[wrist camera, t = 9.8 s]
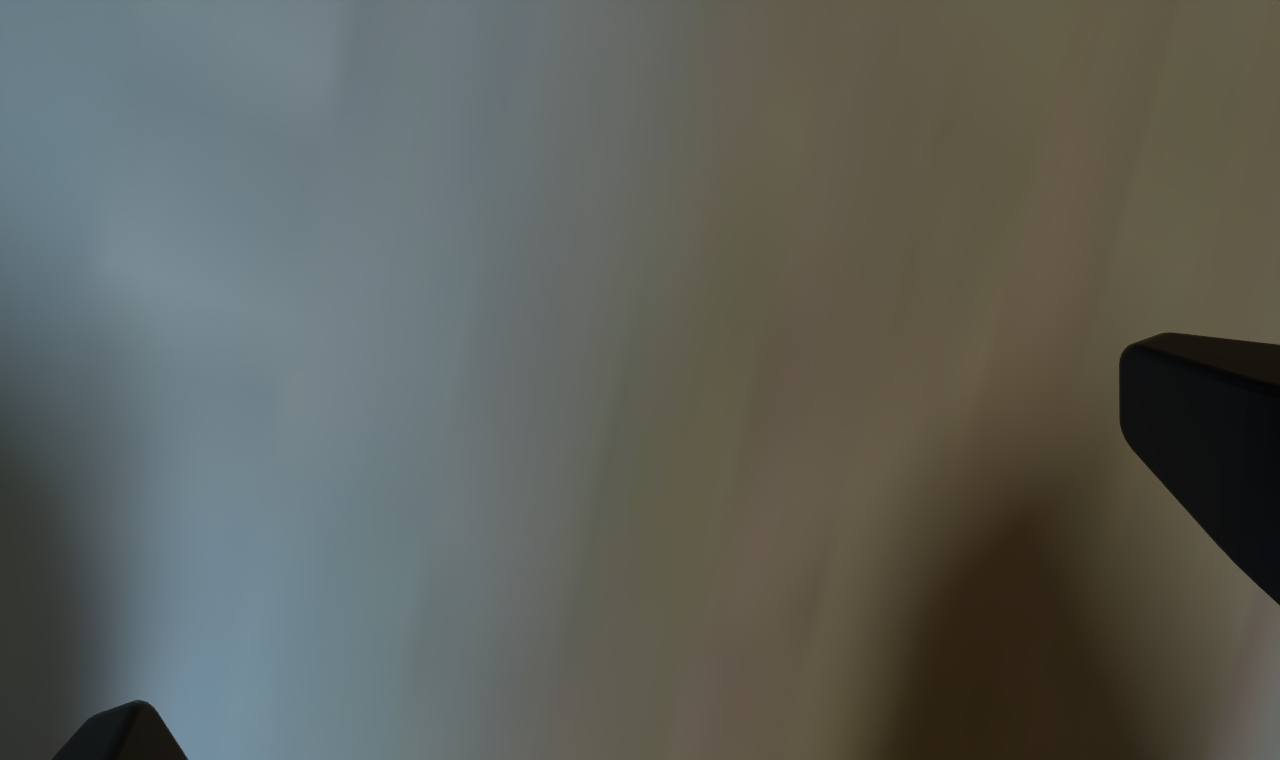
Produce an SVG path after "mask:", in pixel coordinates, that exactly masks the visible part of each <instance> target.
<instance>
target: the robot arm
mask: <svg viewBox="0 0 1280 760" xmlns="http://www.w3.org/2000/svg"><path fill="white" fill-rule="evenodd" d="M1119 408H1120V426H1121V430H1122V433H1123V435H1124V438H1125V440H1126V441H1127V443H1128V445H1129V446H1130V447H1131V449H1132V450H1133V451H1134V452H1135V453H1136V454H1137V455H1138V457H1139V458H1140V459H1141V460H1142V461H1143V462H1144V463H1145V464H1146V465H1147V467H1148V468H1149V469H1150V470H1151V471H1152V472H1153V473H1154V474H1155V476H1156V477H1157V478H1158V479H1159V480H1160V481H1161V482H1162V483H1163V484H1164V486H1165V487H1166V488H1167V489H1168V490H1169V491H1170V492H1171V493H1172V495H1173V496H1174V497H1175V498H1176V499H1177V500H1178V501H1179V502H1180V504H1181V505H1182V506H1183V507H1184V508H1185V509H1186V510H1187V511H1188V512H1189V514H1190V515H1191V516H1192V517H1193V518H1194V519H1195V520H1196V521H1197V523H1198V524H1199V525H1200V526H1201V527H1202V528H1203V529H1204V530H1205V531H1206V533H1207V534H1208V535H1209V536H1210V537H1211V538H1212V539H1213V540H1214V542H1215V543H1216V544H1217V545H1218V546H1219V547H1220V548H1221V549H1222V550H1223V551H1224V552H1225V553H1226V554H1227V555H1228V556H1229V557H1230V559H1231V560H1232V561H1233V562H1234V563H1235V564H1236V565H1237V566H1238V567H1239V568H1240V569H1241V570H1242V571H1243V572H1244V573H1246V574H1247V575H1248V576H1249V577H1250V578H1251V579H1252V580H1253V581H1254V582H1255V583H1256V584H1257V585H1258V586H1259V587H1260V588H1261V589H1262V590H1264V591H1265V592H1266V593H1267V594H1268V595H1269V596H1270V597H1271V598H1272V599H1273V600H1274V601H1276V602H1277V603H1278V604H1279V605H1280V345H1277V344H1268V343H1259V342H1250V341H1242V340H1233V339H1224V338H1215V337H1206V336H1198V335H1189V334H1180V333H1161V334H1158V335H1155V336H1153V337H1150V338H1147V339H1144V340H1141V341H1139V342H1136V343H1133V344H1130V345H1129V346H1127V347H1126V348H1125V349H1124V350H1123V352H1122V354H1121V357H1120V362H1119ZM52 760H188V758H187V757H186V755H185V754H184V752H183V751H182V749H181V748H180V746H179V745H178V743H177V741H176V740H175V738H174V737H173V735H172V734H171V732H170V731H169V729H168V728H167V726H166V725H165V723H164V721H163V720H162V718H161V717H160V715H159V714H158V712H157V711H156V710H155V708H154V707H153V706H152V705H150V704H149V703H148V702H145V701H141V700H135V701H132V702H129V703H126V704H124V705H121V706H118V707H115V708H112V709H109V710H107V711H104V712H101V713H98V714H96V715H94V716H92V717H91V718H89V719H88V720H87V721H86V722H85V723H84V724H83V725H82V726H81V727H80V729H79V730H78V731H77V732H76V733H75V734H74V735H73V736H72V737H71V739H70V740H69V741H68V742H67V743H66V744H65V745H64V746H63V747H62V748H61V750H60V751H59V752H58V753H57V754H56V755H55V756H54V757H53V758H52Z"/></svg>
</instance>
